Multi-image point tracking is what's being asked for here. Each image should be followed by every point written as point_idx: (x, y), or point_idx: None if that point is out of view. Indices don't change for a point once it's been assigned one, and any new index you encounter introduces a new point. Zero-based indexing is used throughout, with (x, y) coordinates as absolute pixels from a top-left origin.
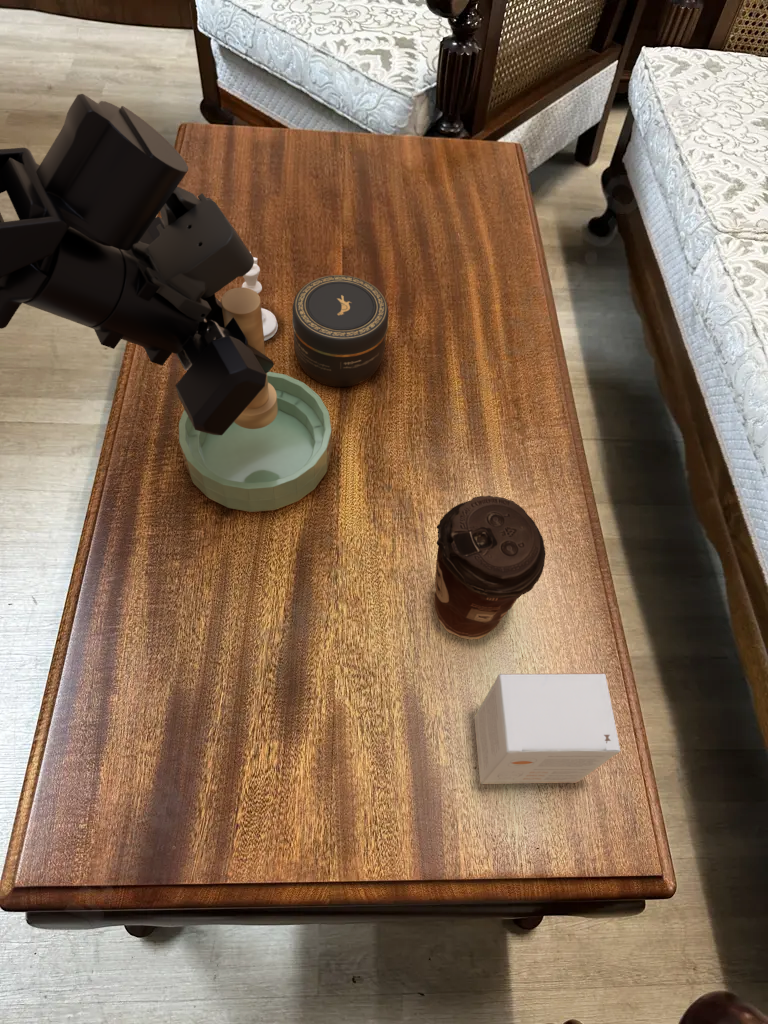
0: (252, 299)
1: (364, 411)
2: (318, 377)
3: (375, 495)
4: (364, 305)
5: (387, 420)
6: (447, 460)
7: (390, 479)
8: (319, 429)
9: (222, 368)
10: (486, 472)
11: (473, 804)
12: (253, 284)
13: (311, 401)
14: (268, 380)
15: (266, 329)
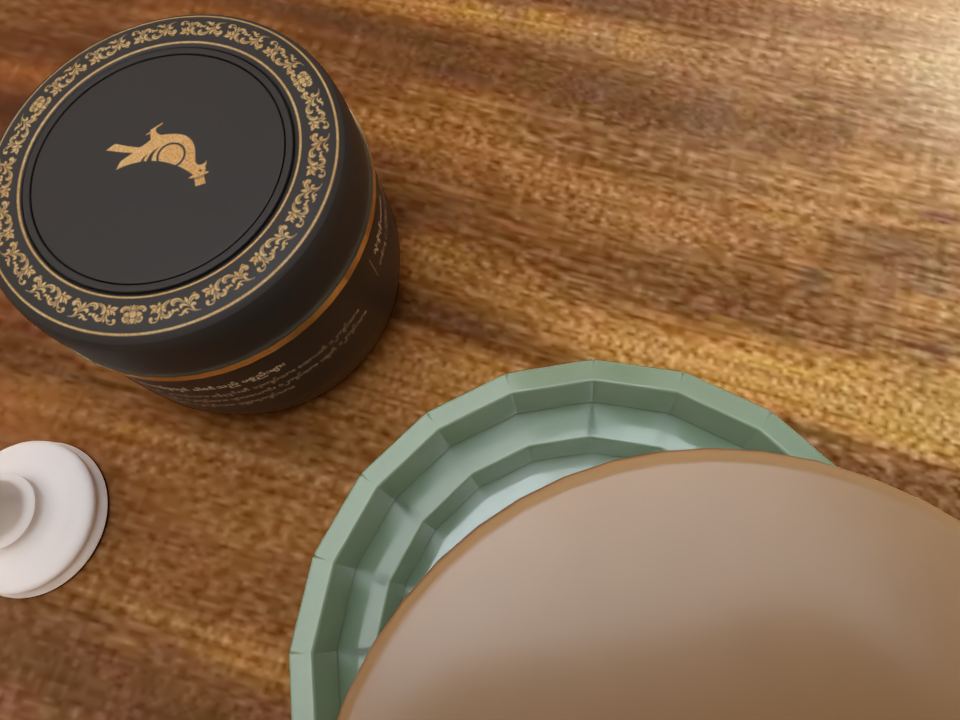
0: (765, 615)
1: (502, 270)
2: (350, 366)
3: (839, 322)
4: (192, 84)
5: (555, 216)
6: (742, 99)
7: (784, 264)
8: (606, 418)
9: None
10: (805, 17)
11: None
12: None
13: (499, 410)
14: (354, 544)
15: (71, 485)
